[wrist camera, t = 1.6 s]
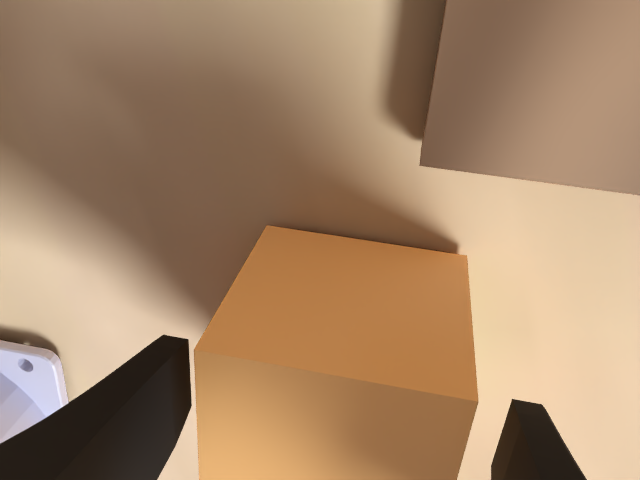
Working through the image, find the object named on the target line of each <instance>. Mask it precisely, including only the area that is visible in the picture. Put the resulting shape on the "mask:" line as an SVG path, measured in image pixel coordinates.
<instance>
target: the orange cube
mask: <svg viewBox="0 0 640 480" xmlns="http://www.w3.org/2000/svg"><path fill="white" fill-rule="evenodd" d="M194 364H195V388H196V413H197V437H198V461H199V480H457V477H458V473H459V469H460V466H461V462H462V459H463V455H464V451H465V448H466V444H467V441H468V437H469V433H470V430H471V426H472V423H473V419H474V416H475V412H476V408H477V405H478V391H477V378H476V365H475V352H474V340H473V327H472V314H471V301H470V289H469V276H468V263H467V256H466V255H459V254H453V253H446V252H439V251H433V250H426V249H420V248H413V247H407V246H400V245H393V244H387V243H380V242H374V241H367V240H361V239H354V238H347V237H341V236H334V235H328V234H321V233H315V232H308V231H301V230H295V229H288V228H282V227H275V226H269V225H267V226H266V227H265V229H264V231H263V233H262V234H261V236H260V238H259V239H258V241H257V243H256V245H255V246H254V248H253V250H252V251H251V253H250V255H249V256H248V258H247V260H246V262H245V263H244V265H243V267H242V268H241V270H240V272H239V274H238V275H237V277H236V279H235V280H234V282H233V284H232V286H231V287H230V289H229V291H228V292H227V294H226V296H225V297H224V299H223V301H222V303H221V304H220V306H219V308H218V309H217V311H216V313H215V315H214V316H213V318H212V320H211V321H210V323H209V325H208V327H207V328H206V330H205V332H204V333H203V335H202V337H201V338H200V340H199V342H198V344H197V345H196V347H195V349H194Z"/></svg>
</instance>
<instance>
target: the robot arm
mask: <svg viewBox="0 0 640 480" xmlns="http://www.w3.org/2000/svg"><path fill="white" fill-rule="evenodd" d="M191 406H192V404H191V384H190V363H189V342H188V339H183V338H178V337H173V336H167V335H162V336H161V337H159V338H158V339H157V340H155V341H154V342H152V343H151V344H150V345H148V346H147V347H146V348H144V349H143V350H142V351H140V352H139V353H138V354H136V355H135V356H134V357H132V358H131V359H130V360H128V361H127V362H126V363H124V364H123V365H122V366H120V367H119V368H118V369H116V370H115V371H114V372H112V373H111V374H109V375H108V376H107V377H105V378H104V379H103V380H101V381H100V382H98V383H97V384H96V385H94V386H93V387H91V388H90V389H89V390H87V391H86V392H84V393H83V394H81V395H80V396H78V397H77V398H75V399H74V400H72V401H71V402H68V396H67V391H66V386H65V380H64V375H63V370H62V364H61V361H60V359H59V357H58V356H57V355H56V354H55V353H54V352H52V351H51V350H48V349H44V348H39V347H34V346H28V345H23V344H18V343H12V342H7V341H2V340H0V480H157V479H158V477H159V475H160V473H161V471H162V470H163V468H164V466H165V464H166V462H167V461H168V459H169V457H170V455H171V453H172V451H173V449H174V448H175V446H176V443H177V441H178V438H179V436H180V434H181V431H182V429H183V426H184V424H185V421H186V419H187V416H188V414H189V411H190V408H191ZM491 480H587V479H586V478H585V476H584V474H583V473H582V471H581V470H580V468H579V466H578V465H577V463H576V461H575V460H574V458H573V456H572V455H571V453H570V451H569V450H568V448H567V446H566V445H565V443H564V441H563V439H562V438H561V436H560V434H559V432H558V431H557V429H556V427H555V425H554V423H553V422H552V420H551V418H550V416H549V415H548V413H547V411H546V409H545V408H544V407H543V405H542V404H536V403H531V402H525V401H520V400H514V399H512V402H511V405H510V408H509V411H508V414H507V417H506V421H505V424H504V427H503V430H502V433H501V436H500V440H499V443H498V446H497V449H496V452H495V455H494V458H493V462H492V465H491Z"/></svg>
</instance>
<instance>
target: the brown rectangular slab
mask: <svg viewBox="0 0 640 480" xmlns="http://www.w3.org/2000/svg"><path fill="white" fill-rule="evenodd" d="M420 166H426V167H433V168H440V169H448V170H455V171H463V172H470V173H478V174H485V175H493V176H500V177H507V178H515V179H522V180H530V181H537V182H545V183H552V184H559V185H567V186H574V187H582V188H589V189H597V190H604V191H611V192H619V193H626V194H634V195H640V0H446V3H445V9H444V15H443V21H442V27H441V33H440V39H439V45H438V51H437V57H436V63H435V69H434V75H433V81H432V87H431V93H430V99H429V105H428V111H427V117H426V123H425V129H424V135H423V141H422V147H421V156H420Z"/></svg>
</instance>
